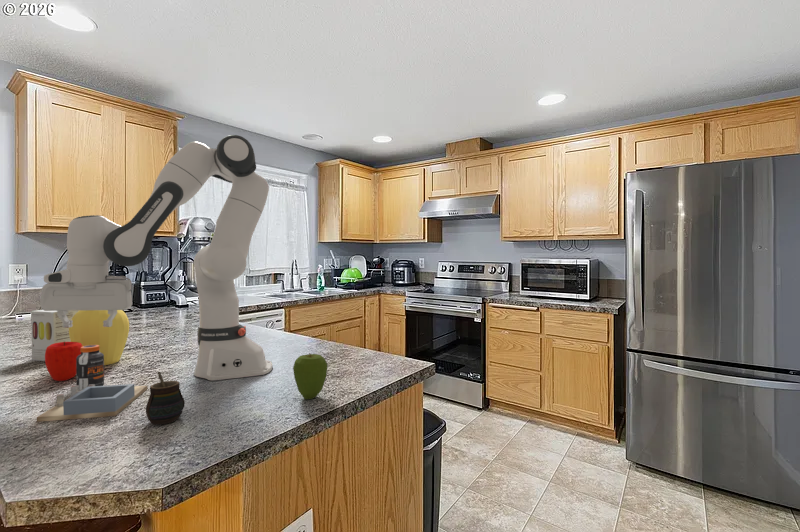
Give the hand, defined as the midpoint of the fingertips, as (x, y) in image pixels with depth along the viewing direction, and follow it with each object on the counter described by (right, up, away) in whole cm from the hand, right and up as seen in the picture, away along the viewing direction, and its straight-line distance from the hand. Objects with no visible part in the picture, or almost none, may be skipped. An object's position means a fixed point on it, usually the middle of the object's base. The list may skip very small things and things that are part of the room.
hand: (87, 327), depth 108 cm
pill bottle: (0, -17, +1) cm, 17 cm away
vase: (-16, -16, +25) cm, 34 cm away
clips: (+6, -16, -12) cm, 20 cm away
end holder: (+15, -17, -15) cm, 27 cm away
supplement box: (-35, -16, +31) cm, 50 cm away
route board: (+11, -17, -11) cm, 23 cm away
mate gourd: (+33, -17, -21) cm, 43 cm away
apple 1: (-13, -16, +8) cm, 22 cm away
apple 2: (+61, -17, -7) cm, 64 cm away
